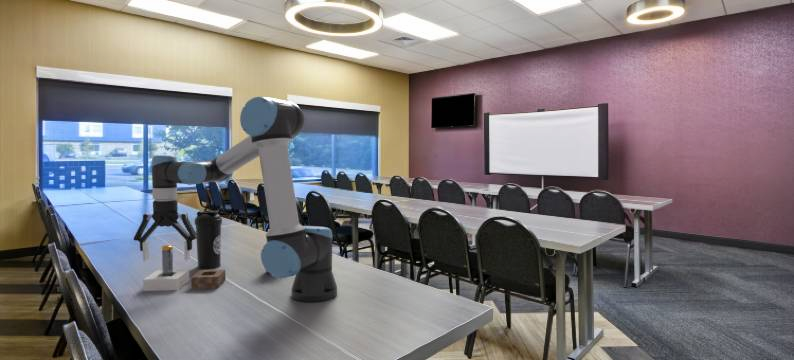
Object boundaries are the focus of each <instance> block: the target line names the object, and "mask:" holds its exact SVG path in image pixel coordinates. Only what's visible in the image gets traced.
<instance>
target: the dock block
mask: <svg viewBox="0 0 794 360" xmlns="http://www.w3.org/2000/svg"><path fill="white" fill-rule="evenodd" d="M189 281H190V269H173V276H162V269H158V270H155V271H153V272H152V273H151V274H150V275H148V276H146V277H145V278H143V279H142V284H143V285H142V286H143V287H142V288H143V292H150V291H151V292H156V291H158V292H159V291H178V290H180V289H181V288H182V287H183V286H185V285H186V284H187V283H188V282H189Z"/></svg>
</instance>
